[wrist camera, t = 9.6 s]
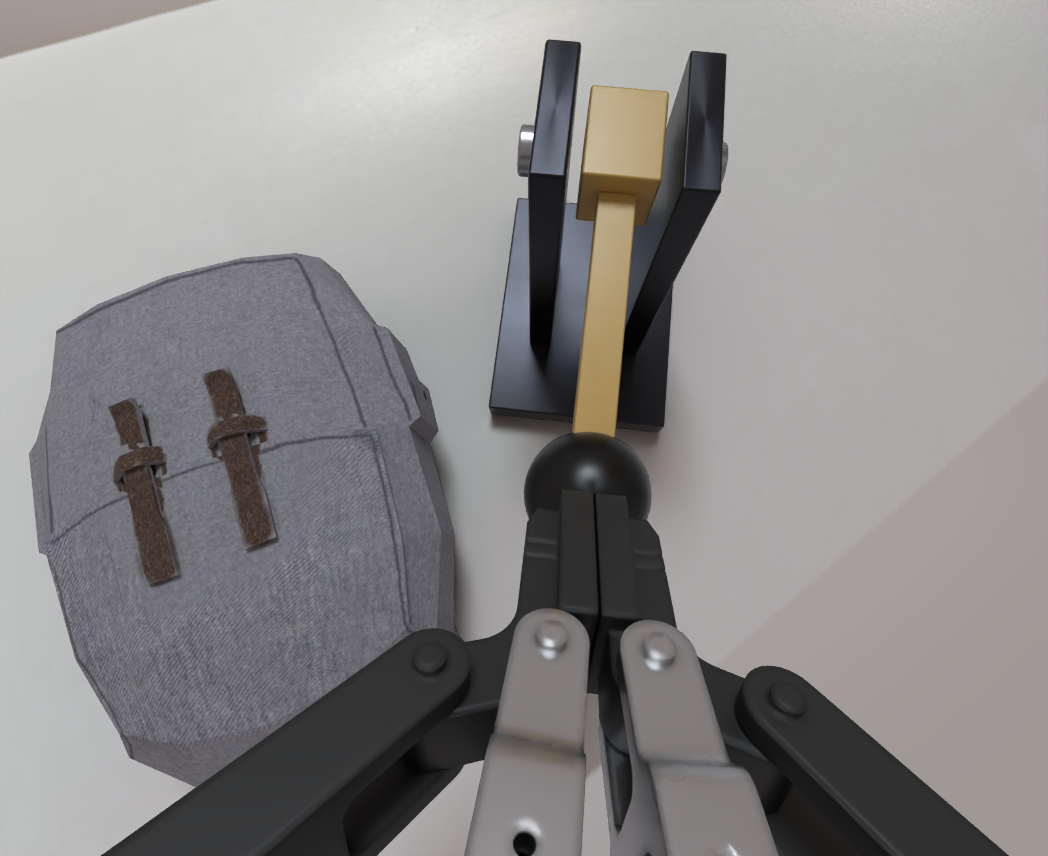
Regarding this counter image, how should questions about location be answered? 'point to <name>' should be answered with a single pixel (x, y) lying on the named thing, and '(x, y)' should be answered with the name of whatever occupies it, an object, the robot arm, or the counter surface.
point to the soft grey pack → (236, 503)
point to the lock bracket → (565, 246)
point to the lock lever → (606, 299)
